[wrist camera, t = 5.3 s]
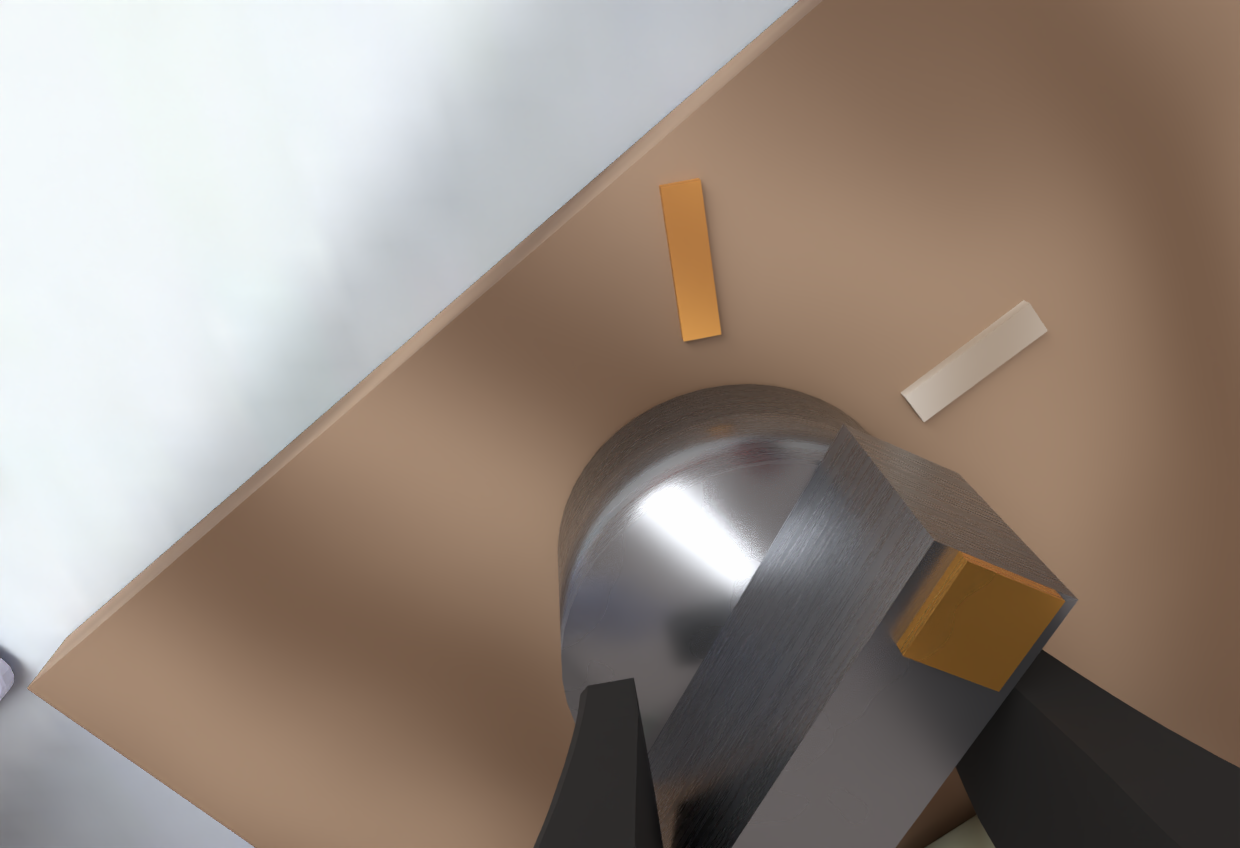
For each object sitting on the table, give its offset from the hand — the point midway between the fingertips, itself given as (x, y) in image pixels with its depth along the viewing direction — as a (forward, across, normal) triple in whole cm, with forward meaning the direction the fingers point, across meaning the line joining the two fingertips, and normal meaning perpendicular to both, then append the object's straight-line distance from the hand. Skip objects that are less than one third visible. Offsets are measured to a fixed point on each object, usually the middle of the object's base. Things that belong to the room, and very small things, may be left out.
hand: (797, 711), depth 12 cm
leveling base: (+6, -2, +3) cm, 7 cm away
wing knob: (+4, 0, 0) cm, 4 cm away
